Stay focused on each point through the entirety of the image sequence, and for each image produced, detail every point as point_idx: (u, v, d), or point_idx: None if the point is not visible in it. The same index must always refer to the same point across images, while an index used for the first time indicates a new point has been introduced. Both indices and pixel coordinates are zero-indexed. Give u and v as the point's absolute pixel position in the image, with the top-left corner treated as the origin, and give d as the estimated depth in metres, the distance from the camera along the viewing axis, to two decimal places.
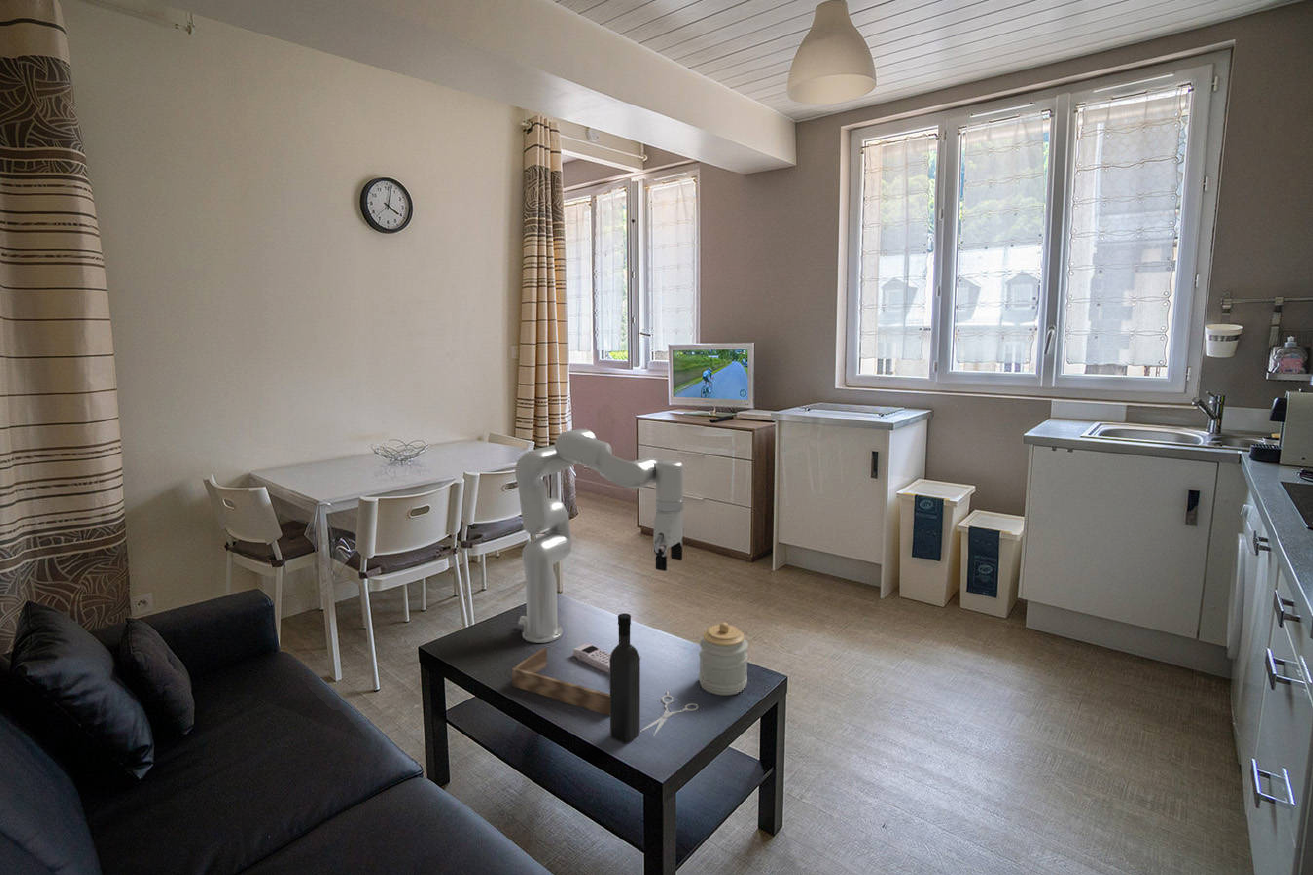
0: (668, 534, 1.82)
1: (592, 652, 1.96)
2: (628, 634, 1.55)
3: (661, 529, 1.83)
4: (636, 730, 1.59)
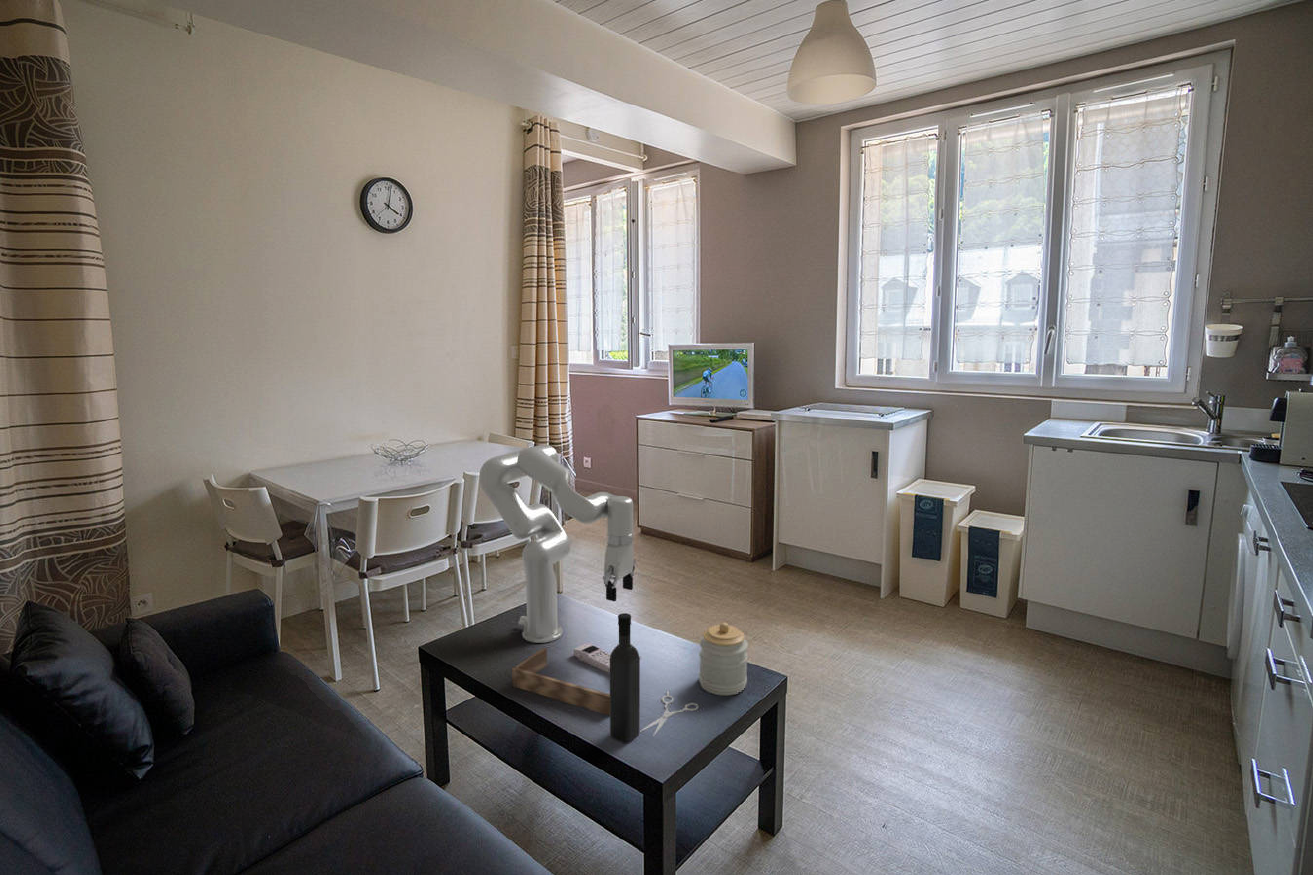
0: (617, 567, 1.92)
1: (592, 652, 1.96)
2: (628, 634, 1.55)
3: (611, 562, 1.93)
4: (636, 730, 1.59)
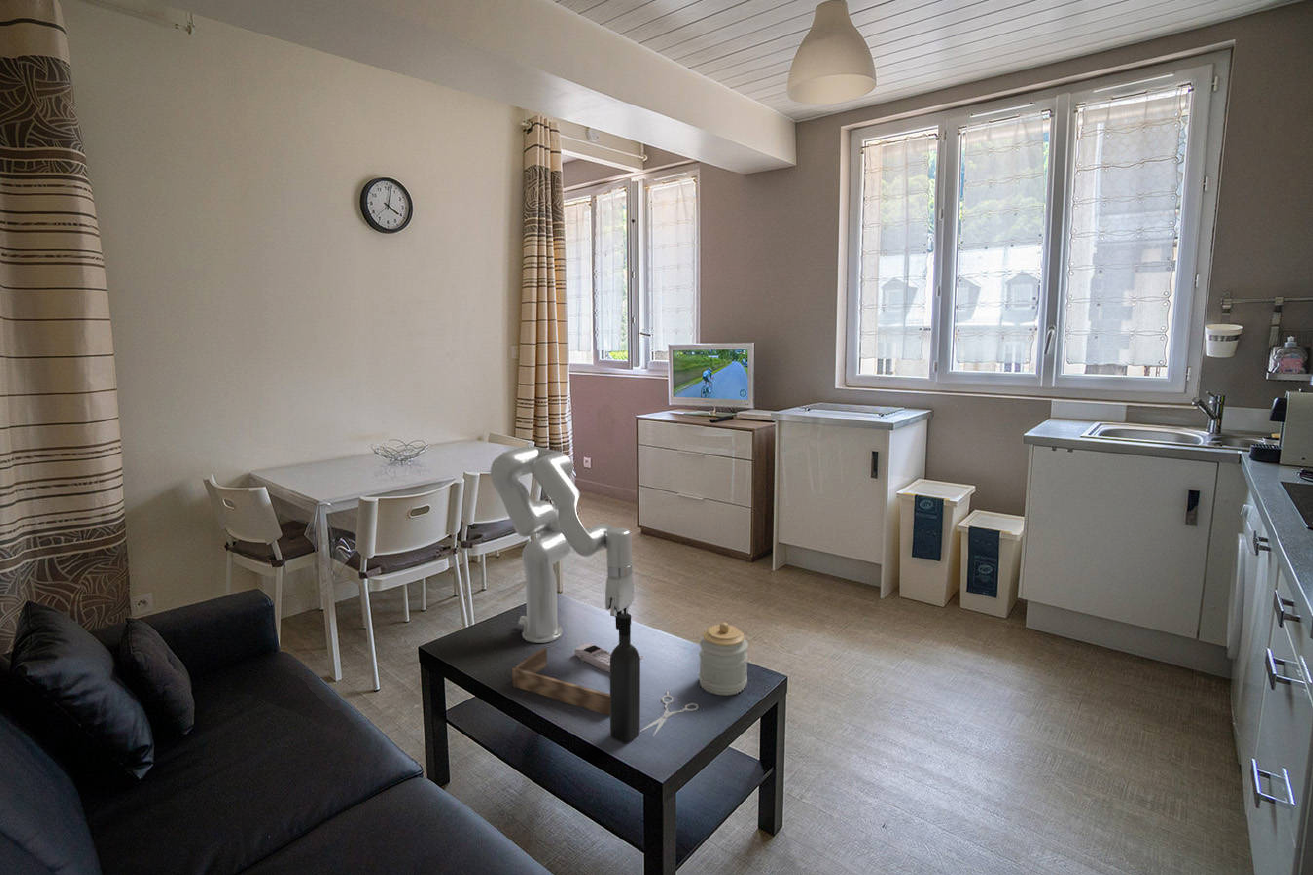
0: (618, 598, 1.94)
1: (594, 652, 1.96)
2: (628, 634, 1.55)
3: (612, 594, 1.94)
4: (636, 730, 1.59)
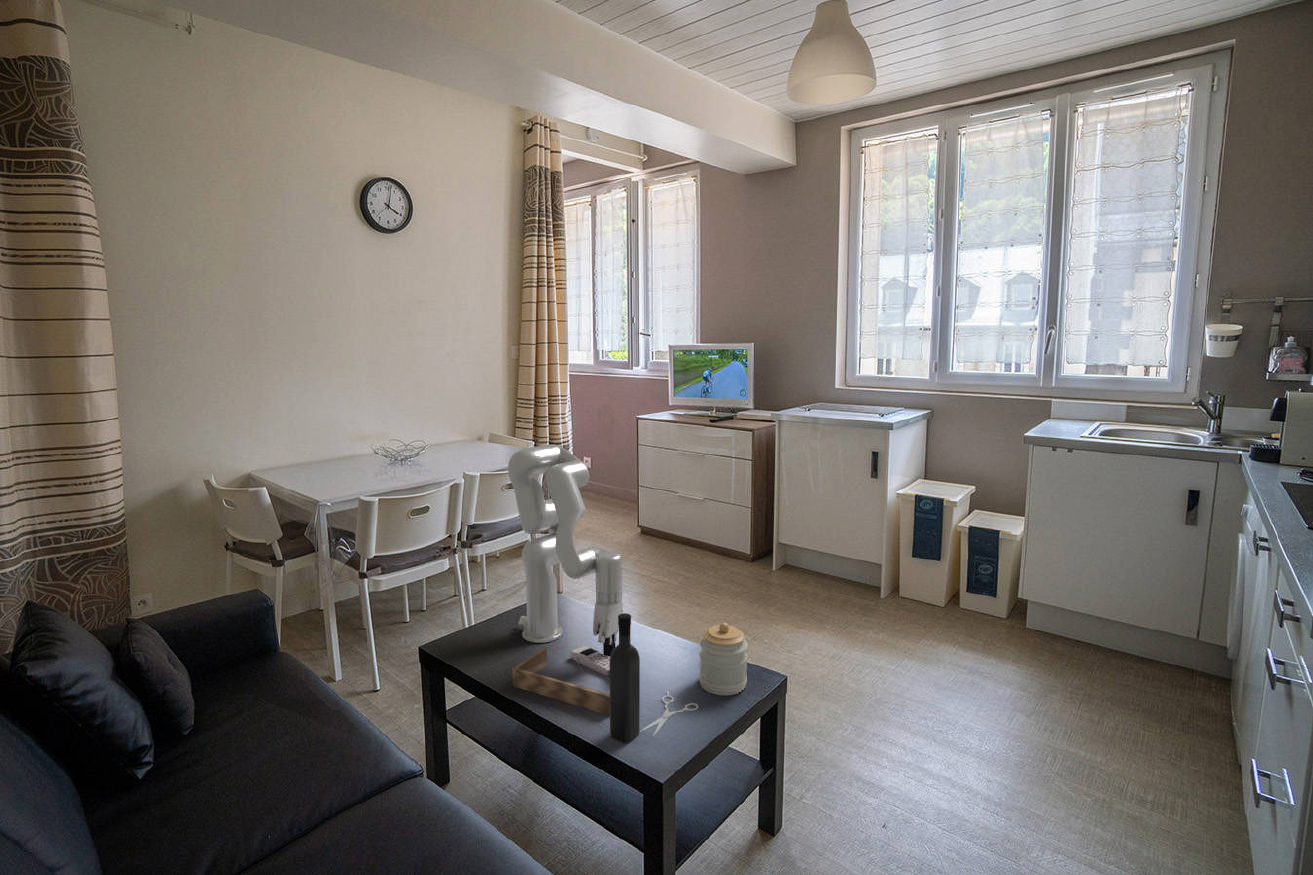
0: (607, 625, 1.90)
1: (590, 654, 1.94)
2: (628, 634, 1.55)
3: (600, 620, 1.90)
4: (636, 730, 1.59)
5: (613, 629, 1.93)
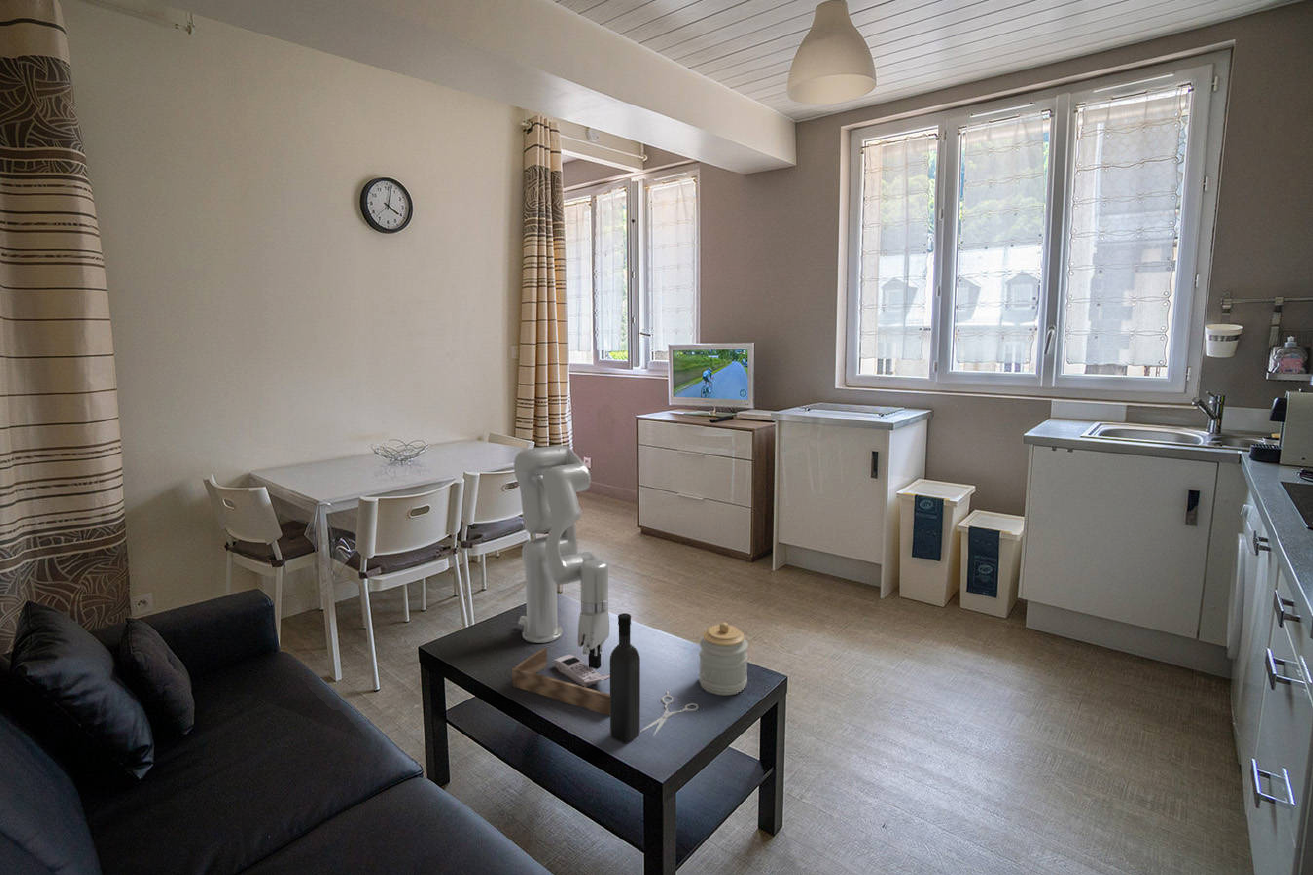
0: (591, 636, 1.83)
1: (572, 664, 1.89)
2: (628, 634, 1.55)
3: (585, 631, 1.83)
4: (636, 730, 1.59)
5: (598, 640, 1.86)
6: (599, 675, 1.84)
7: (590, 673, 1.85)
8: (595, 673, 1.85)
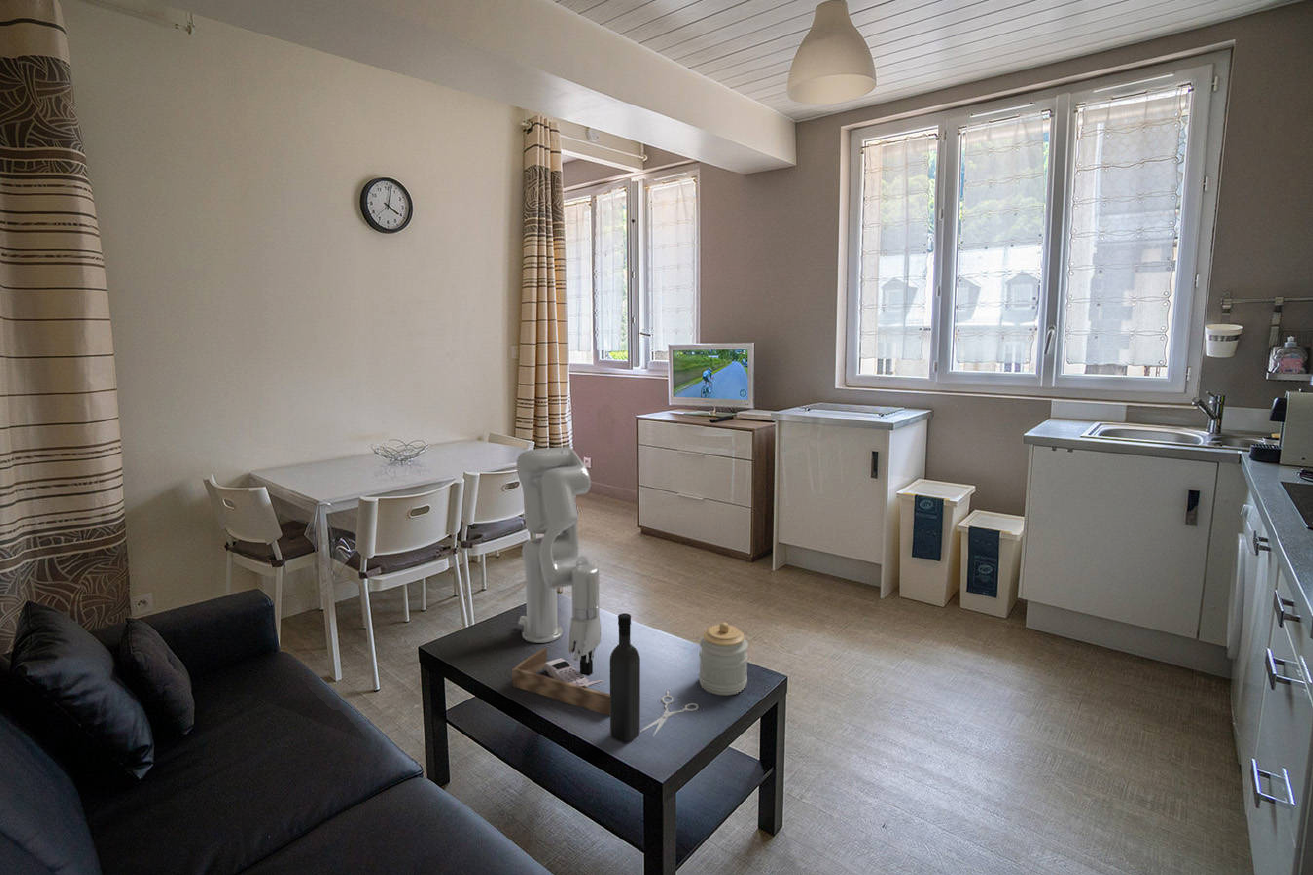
0: (582, 642, 1.79)
1: (562, 668, 1.86)
2: (628, 634, 1.55)
3: (576, 637, 1.79)
4: (636, 730, 1.59)
5: (590, 646, 1.82)
6: (587, 681, 1.81)
7: (578, 678, 1.82)
8: (583, 678, 1.82)
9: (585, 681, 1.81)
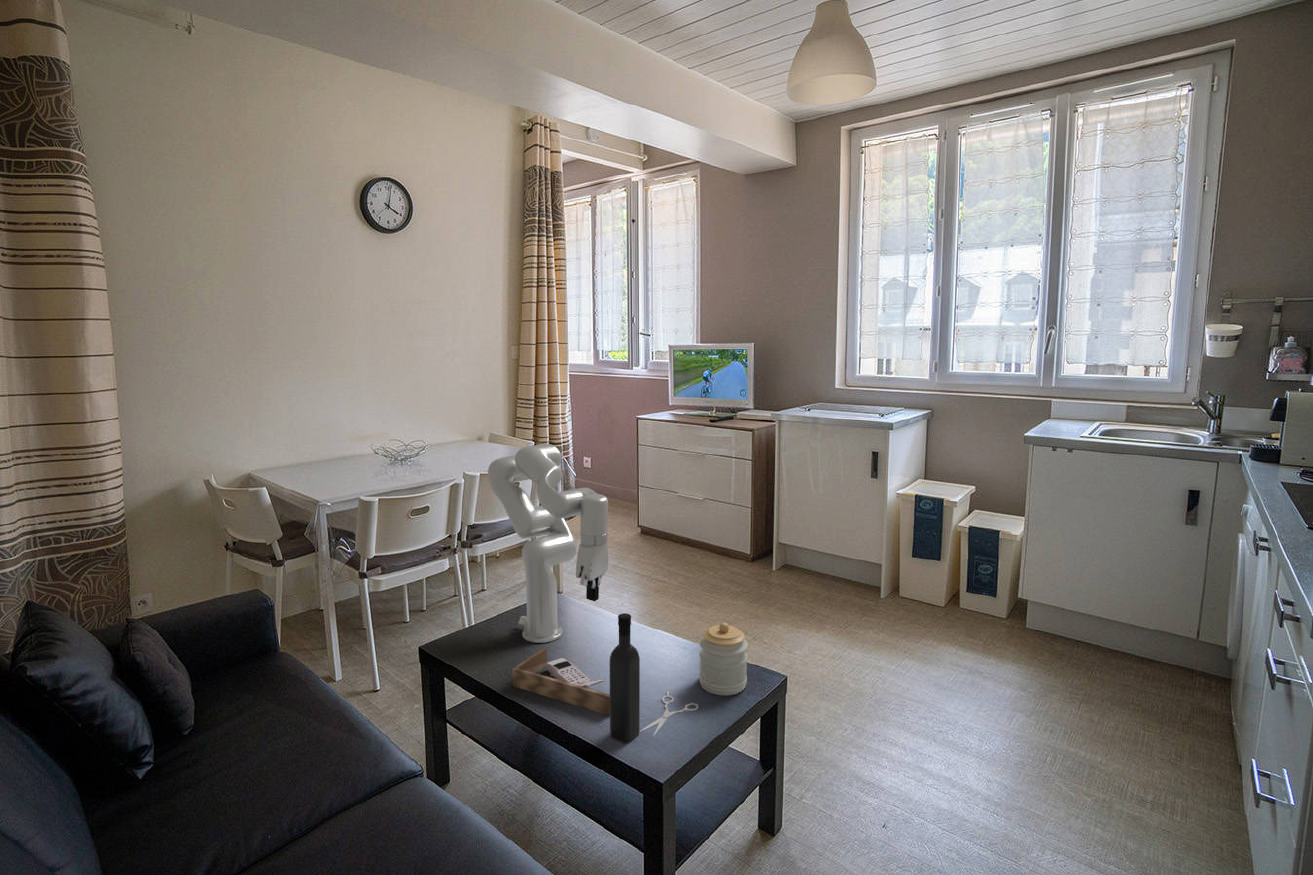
0: (589, 567, 1.85)
1: (563, 668, 1.86)
2: (628, 634, 1.55)
3: (583, 562, 1.86)
4: (636, 730, 1.59)
5: (596, 573, 1.88)
6: (588, 680, 1.81)
7: (580, 678, 1.82)
8: (585, 678, 1.82)
9: (587, 681, 1.81)
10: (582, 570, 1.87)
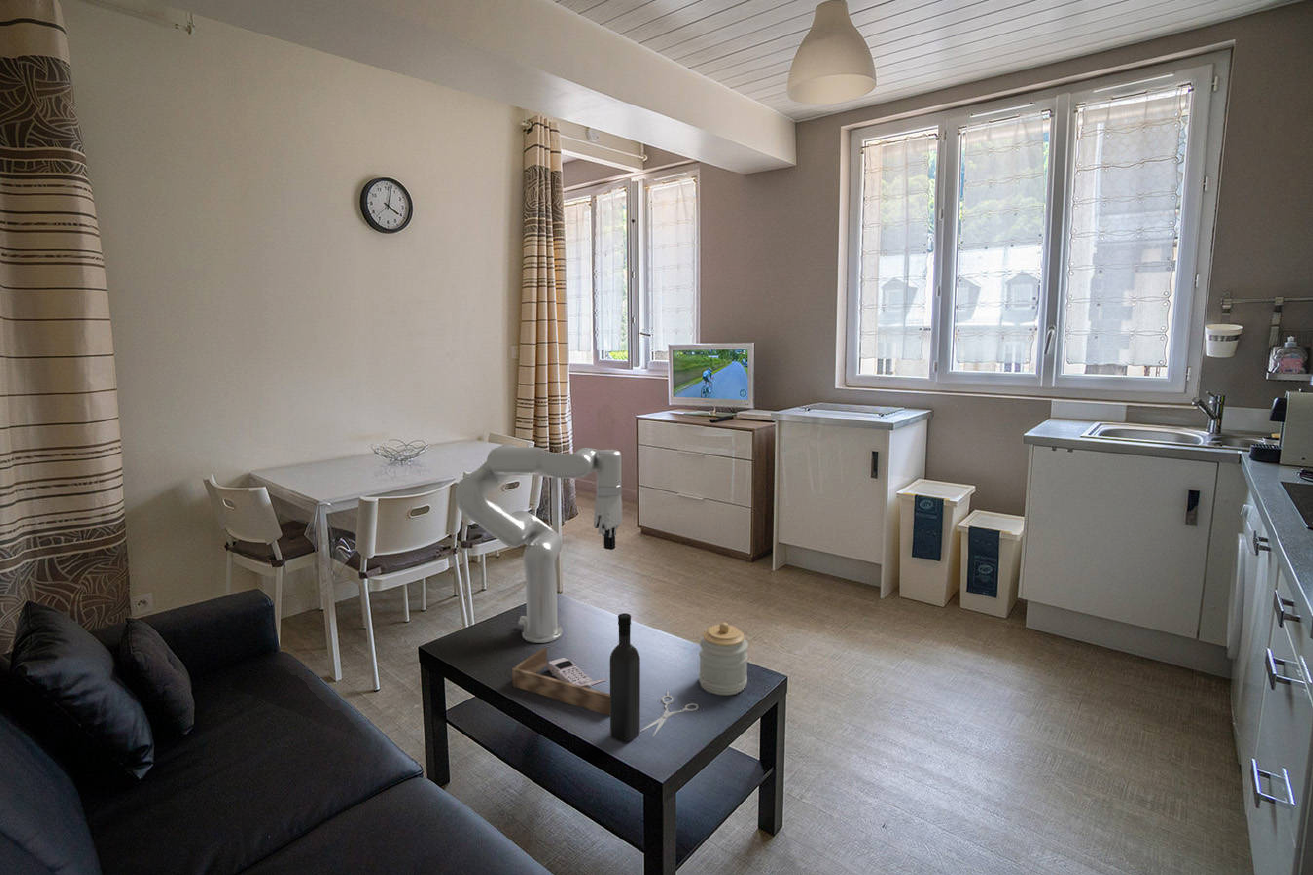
0: (606, 516, 2.00)
1: (565, 668, 1.86)
2: (628, 634, 1.55)
3: (600, 512, 2.00)
4: (636, 730, 1.59)
5: (613, 522, 2.03)
6: (590, 680, 1.81)
7: (581, 678, 1.82)
8: (586, 678, 1.82)
9: (588, 680, 1.81)
10: (600, 520, 2.02)
